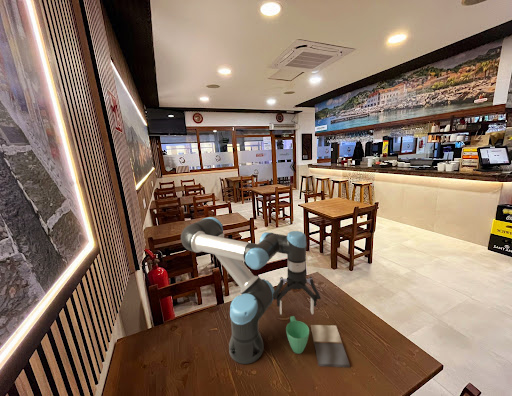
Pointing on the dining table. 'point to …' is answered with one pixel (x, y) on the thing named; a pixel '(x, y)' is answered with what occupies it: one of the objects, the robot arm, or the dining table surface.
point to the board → (329, 346)
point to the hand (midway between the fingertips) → (296, 312)
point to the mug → (297, 334)
